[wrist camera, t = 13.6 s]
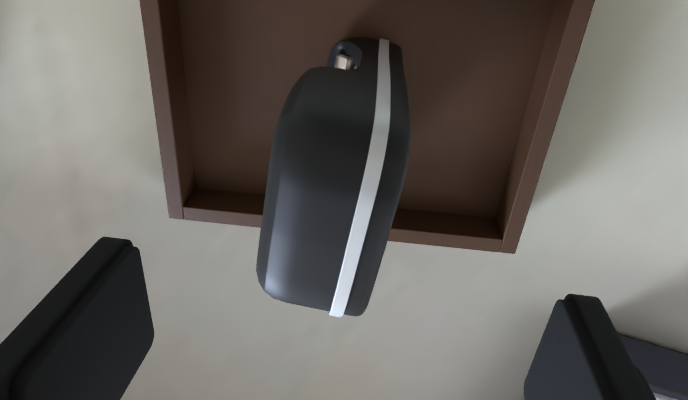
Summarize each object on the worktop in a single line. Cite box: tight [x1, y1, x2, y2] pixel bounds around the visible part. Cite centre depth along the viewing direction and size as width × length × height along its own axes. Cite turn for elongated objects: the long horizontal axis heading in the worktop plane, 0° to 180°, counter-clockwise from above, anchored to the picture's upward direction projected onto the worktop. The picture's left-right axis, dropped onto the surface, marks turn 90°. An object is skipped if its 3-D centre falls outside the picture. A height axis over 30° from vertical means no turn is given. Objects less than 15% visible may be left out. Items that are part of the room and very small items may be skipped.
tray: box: [140, 0, 595, 254], centre depth 22 cm, size 18×13×3 cm
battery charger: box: [256, 37, 411, 317], centre depth 18 cm, size 7×4×11 cm, turn 169°
